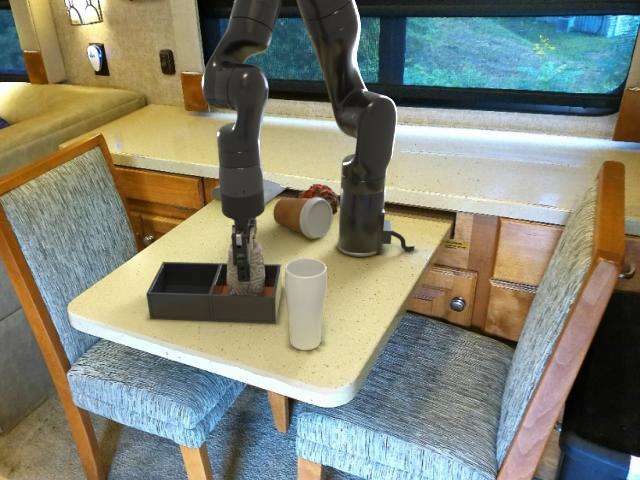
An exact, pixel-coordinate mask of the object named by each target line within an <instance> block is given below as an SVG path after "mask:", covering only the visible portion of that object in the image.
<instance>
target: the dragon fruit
mask: <svg viewBox="0 0 640 480" xmlns="http://www.w3.org/2000/svg"><path fill="white" fill-rule="evenodd" d="M314 197H322V198H323V199H325V200H326V201H327V202H328V203H329V204H330V205H331V208H332V212H333V216H334V215H336V214H337V213H338V212H339V211H338V206H340V199H339V196H338V194H337V193H335V191H333V189H332V188H331V187H329V186H328V185H326V184H321V183H313V184H312V185H310V186H309V188H308V189H305V190H302V191H301V192H298V193H297V194H296V199H302V198H303V199H304V198H305V199H306V198H307V199H308V198H314Z"/></svg>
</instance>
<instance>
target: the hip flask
mask: <svg viewBox="0 0 640 480" xmlns="http://www.w3.org/2000/svg"><path fill="white" fill-rule="evenodd" d="M263 181H264V202H265V205H266V204H268V203H269V202H271V201H272V200H273V199H275V198H276V197H277V196H279V195H280V194H281V193H283V192H284V191H285V190H287V189H288V188H282V187H281V186H280V184H278V183H275V182H272V181H269V180H265V179H263ZM211 196H212V197H213V198H214V199H215V200H221V196H220V185H219V184H218V185H217V186H215V187H214V188H212V190H211Z"/></svg>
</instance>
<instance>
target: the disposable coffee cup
mask: <svg viewBox="0 0 640 480" xmlns="http://www.w3.org/2000/svg"><path fill="white" fill-rule="evenodd" d="M272 214H273V220H274V221H275V223H276V224H277V225H279V226H282V227H284V228H287V229H290V230H292V231H295V232H297V233H300V234H302V235H304V236H305V237H307V238H308V239H311V240H315V239H320V238H321V237H324V236H325V235H326V234H327V233H328V232H329V230H330V228H331V226H332V223H333V218H334V215H333V212H332V208H331V205H330V204H329V203H328V202H327V201H326V200H325V199H323V198H322V197H314V198H308V199H307V198H306V199H305V198H304V199H303V198H302V199H297V198H281V199H279V200H277V202H276V203H275V205H274V207H273V211H272Z"/></svg>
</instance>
